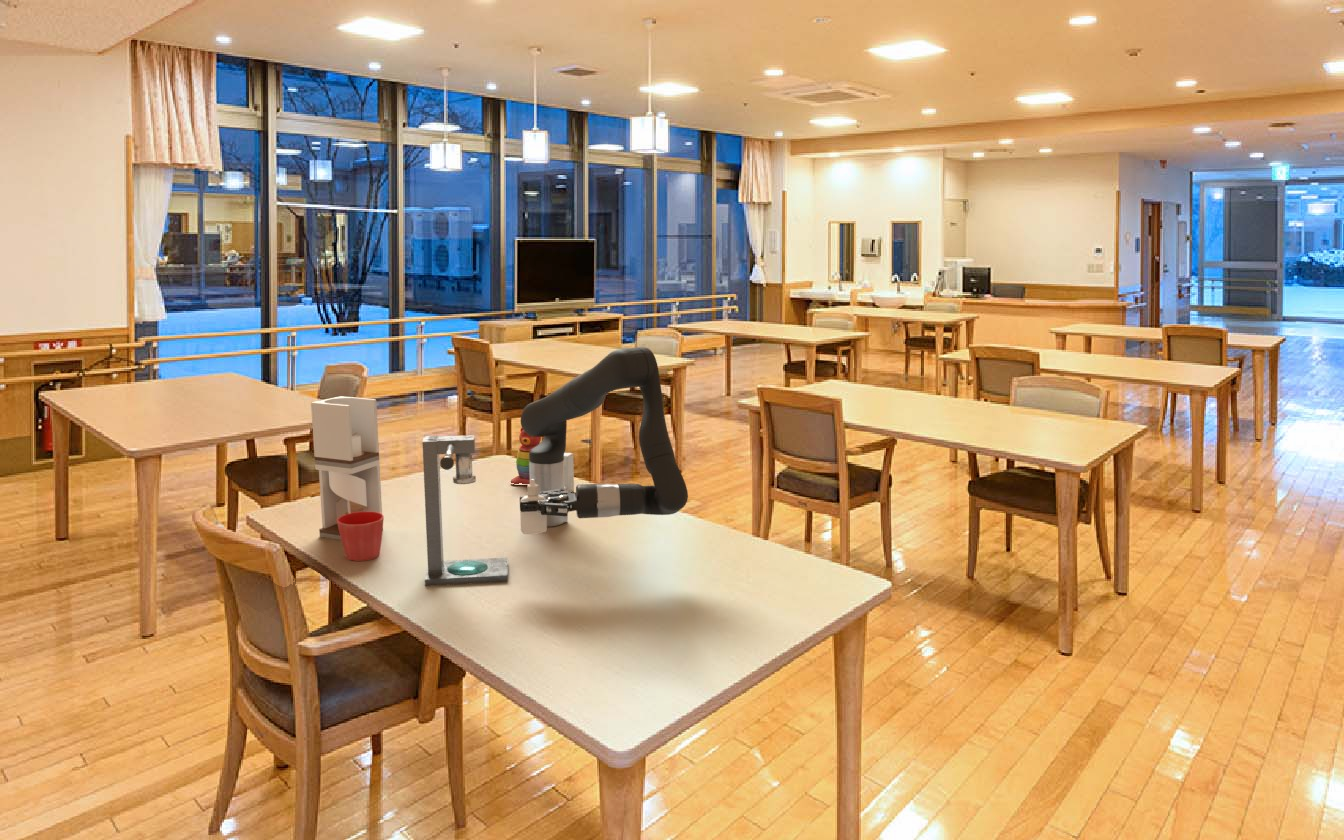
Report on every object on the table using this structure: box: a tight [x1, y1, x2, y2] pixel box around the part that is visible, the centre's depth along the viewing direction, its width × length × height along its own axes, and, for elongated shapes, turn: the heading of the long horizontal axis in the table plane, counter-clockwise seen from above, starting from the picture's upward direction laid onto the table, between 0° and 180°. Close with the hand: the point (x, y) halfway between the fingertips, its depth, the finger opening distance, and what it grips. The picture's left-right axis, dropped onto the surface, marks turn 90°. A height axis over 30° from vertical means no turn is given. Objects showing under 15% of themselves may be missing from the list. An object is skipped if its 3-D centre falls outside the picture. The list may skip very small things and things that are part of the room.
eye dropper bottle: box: [519, 479, 548, 535], centre depth 208 cm, size 4×6×12 cm
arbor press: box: [421, 434, 509, 587], centre depth 207 cm, size 18×25×32 cm
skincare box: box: [564, 452, 575, 493], centre depth 285 cm, size 6×4×12 cm
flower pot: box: [337, 511, 385, 562], centre depth 227 cm, size 11×11×10 cm
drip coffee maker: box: [310, 395, 384, 541], centre depth 241 cm, size 11×11×35 cm
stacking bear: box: [510, 427, 542, 484], centre depth 295 cm, size 11×10×18 cm
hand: (520, 503), depth 207 cm, fingers closed on eye dropper bottle, 3 cm apart
